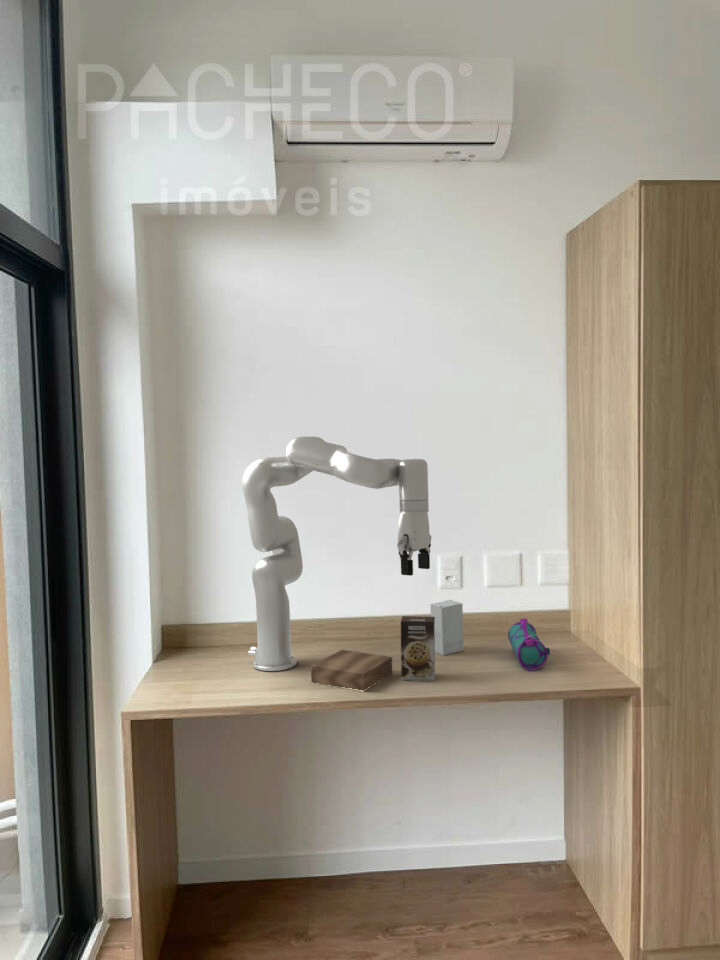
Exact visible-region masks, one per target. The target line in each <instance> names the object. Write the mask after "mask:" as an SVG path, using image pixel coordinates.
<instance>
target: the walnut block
mask: <svg viewBox="0 0 720 960" xmlns="http://www.w3.org/2000/svg"><path fill="white" fill-rule="evenodd" d="M310 674H311V675H310V676H311V678H310V679H311V683H312V682H313V683H312V684H316V683H319V684H318V685H321V684H325V685H324V686H327V685H331V686H330V687H333V686H338V687H345V688H352V689H358V690H363V691H364V690H365V689H367V688H368V687H370V686H372V685H373V684H375V683H377V682H378V681H380V680H381V681H383V680H384V679H386V678H388V677H389V676H390V675H392V674H393V657H392V656H386V655H380V654H373V653H366V652H361V651H360V652H359V651H354V650H353V651H352V650H347V649H340V650H339V651H337V652H335V653H333V654H331V655H329V656H327V657H325V658H323V659H321V660H319V661H317V662H316V663H314V664H312V665H310ZM388 675H389V676H388ZM385 677H386V678H385ZM383 678H384V679H383ZM382 679H383V680H382ZM381 681H380V682H381ZM378 683H379V682H378ZM378 683H377V684H378ZM375 685H376V684H375ZM338 687H337V688H338ZM372 687H373V686H372Z"/></svg>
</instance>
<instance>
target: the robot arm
mask: <svg viewBox="0 0 720 960" xmlns="http://www.w3.org/2000/svg"><path fill="white" fill-rule="evenodd" d="M285 452H286V453H285V455H284V456H271V457H270V456H268V457H263V458H260V459H257V460H255V461H253V462H252V463H250V465H248V467H247V468H246V470H245V471H244V474H243V477H242V483H241V484H242V486H241V487H242V492H243V493H242V494H243V496H244V497H243V498H244V501H245V505H246V511H247V512H246V513H247V519H248V526H249V533H250V538H251V543H252V545H253V547H254V549H255V550H257V551H258V552H261V553H267V552H268V553H269V552H272V555H268V556H267V557H263V558H262V559H261V558H260V560H258V561H257V562H256V563H255V565H254V566H253V568H252V572H251V579H252V585H253V589H254V595H255V607H256V608H255V609H256V611H255V612H256V631H257V634H256V635H257V637H256V638H257V646H251V647H250V649H249V650H248V656H254V658H255V659H254V660H253V661H252V667H253V668H254V669H256V670H259V671H263V672H277V671H285V670H288V669H291V668H294V667H295V666H296V665H297V663H298V660H297V658H296V657H295V656H293V655H292V645H291V644H292V643H291V642H292V640H291V613H290V599H289V595H288V593H287V590H286V586H288V585H290V584H292V583H294V582H296V581H297V580H299V579H300V577H301V575H302V573H303V570H304V569H303V557H302V551H301V544H300V543H301V542H300V539H299V532H298V528H297V527H296V525H295V523H294V521H293V520H291V518H289V517H287V516H284V515H279V512H278V508H277V502H276V499H275V497H274V494H273V493H272V491H271V489H272V488H275V487H285V486H290V485H293V484H296V483H297V482H298V481H300V480H302V479H303V478H305V477H306V476H307V475H309V474H311V473H312V472H318V473H322V474H325V475H328V476H333V477H336V478H337V479H340V480H343V481H345V482H347V483H350V484H354V485H357V486H361V487H365V488H369V489H374V490H375V489H385V488H390V487H391V488H392V487H395V486H398V490H399V491H398V493H399V494H398V495H399V515H398V524H397V525H398V526H397V546H396V547H397V549H398V555H399V560H400V574H401V575H402V576H413V575H414V565H413V564H414V562H413V561H414V560H413V559H412V557H413V555H414V552H417V551H418V553H417V567H418V569H421V570H422V569H423V570H429V569H430V568H431V561H430V560H431V559H430V556H431V555H430V554H431V546H432V543H431V542H432V535H431V534H430V532H431V531H430V520H429V511H430V508H429V507H430V506H429V505H430V504H429V476H428V475H429V469H428V467H429V466H428V462H427V461H426V460H425V459H424V458H406V459H397V458H379V459H375V458H370V457H365V456H361V455H358V454H355V453H351V452H349V451H348V450H347V448H346V447H345V446H343V445H340V444H336V443H332V442H328V441H326V440H325V439H323V438H321V437H318V436H297V437H295V438H293V439H292V440H291V441H290V442H288V445H287V446H286V451H285Z"/></svg>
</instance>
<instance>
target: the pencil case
mask: <svg viewBox="0 0 720 960" xmlns="http://www.w3.org/2000/svg"><path fill="white" fill-rule="evenodd" d="M507 638H508V641H509V643H510V646H511V648H512V650H513V652H514V655H515V657H516V659H517V661H518V663H519V665H520V667H522V668H523V669H524V670H526V671H527V672H530V671H531V672H534V671H536V670H539V669H540V668H542V667H543V666H545V664H546V662H547V661H548V657H549V656H550V655H551V653H550V651H551V650H550V647H546V646H545V644H544V643H543V642H542V641H541V640H540V638H539V636H538V634H537V630H536V628H535V627H534V625H533V624H531V623H529V622H528V618H520V621H519V622H515V623H513V624H512V625H511V626H510V627H509V629H508V632H507ZM548 655H549V656H548Z"/></svg>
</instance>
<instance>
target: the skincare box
mask: <svg viewBox="0 0 720 960" xmlns="http://www.w3.org/2000/svg"><path fill="white" fill-rule="evenodd" d="M463 609H464V608H463V603H462V602H459V601H455V600H454V599H453V600H452V599H448V600H444V601H439V602H435V603H434V602H433V603H430V617H435V654H438V653H439V655H440V654H441V655H440V656H446V655H450V654H453V653H457V652H461V651H464V618H463V617H464V616H463V613H464V611H463Z"/></svg>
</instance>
